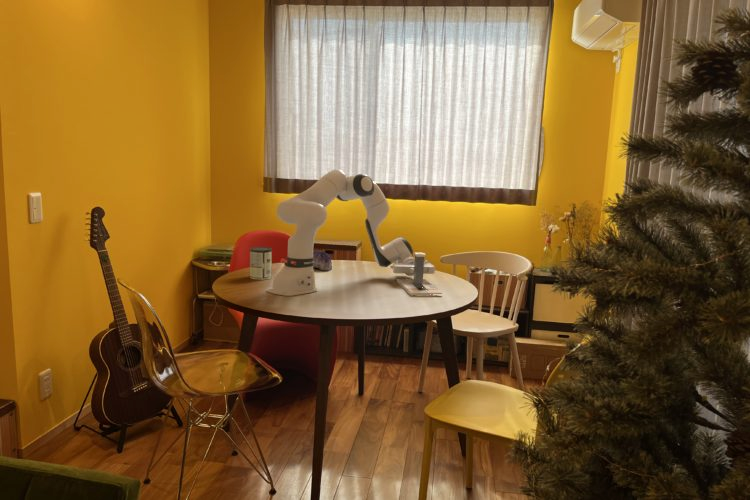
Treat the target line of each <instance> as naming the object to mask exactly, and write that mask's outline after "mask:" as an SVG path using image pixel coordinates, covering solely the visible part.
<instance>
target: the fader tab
mask: <svg viewBox="0 0 750 500" xmlns="http://www.w3.org/2000/svg"><path fill="white" fill-rule="evenodd" d="M413 255H414V258H415V264H414V275H413V279H414V281H413V285H414V286H415V287H416V288H422V286H423V279H424V274H423V270H424V260H425V257H426V256H427V254H426V253H425V252H414V251H413Z"/></svg>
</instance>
